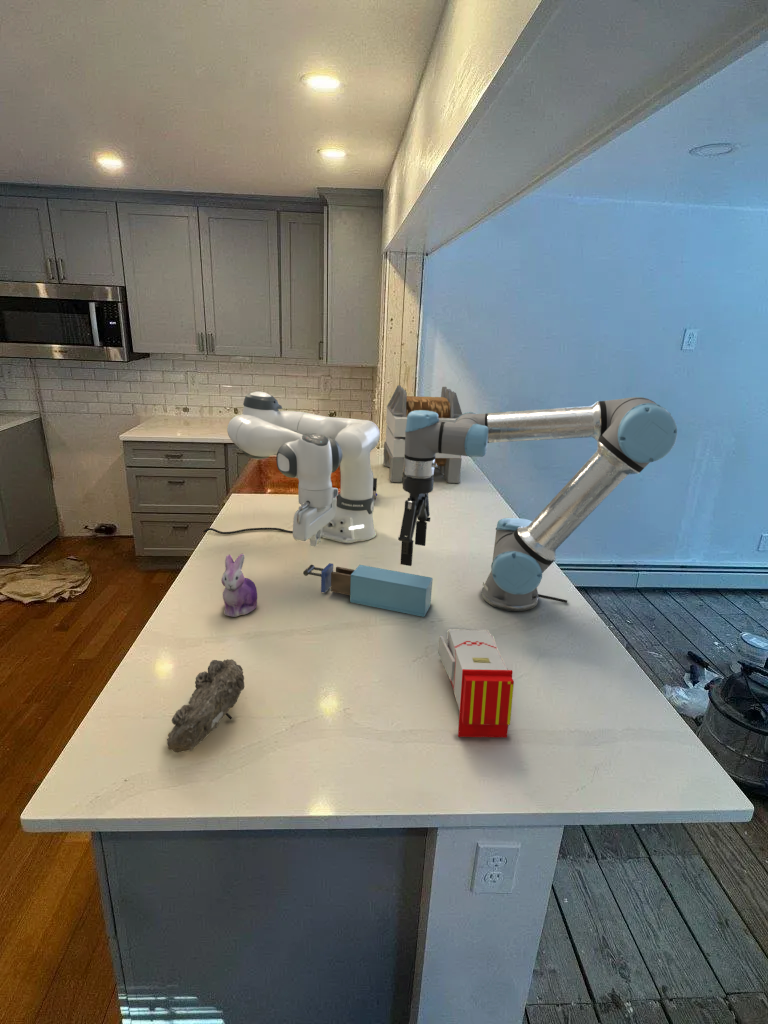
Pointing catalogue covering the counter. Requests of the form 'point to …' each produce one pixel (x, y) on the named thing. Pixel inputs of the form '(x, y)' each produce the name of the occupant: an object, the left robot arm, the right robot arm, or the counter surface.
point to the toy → (478, 682)
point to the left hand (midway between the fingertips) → (315, 544)
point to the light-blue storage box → (391, 590)
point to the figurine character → (374, 487)
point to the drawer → (332, 578)
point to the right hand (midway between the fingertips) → (413, 554)
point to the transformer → (396, 428)
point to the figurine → (237, 589)
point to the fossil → (206, 705)
